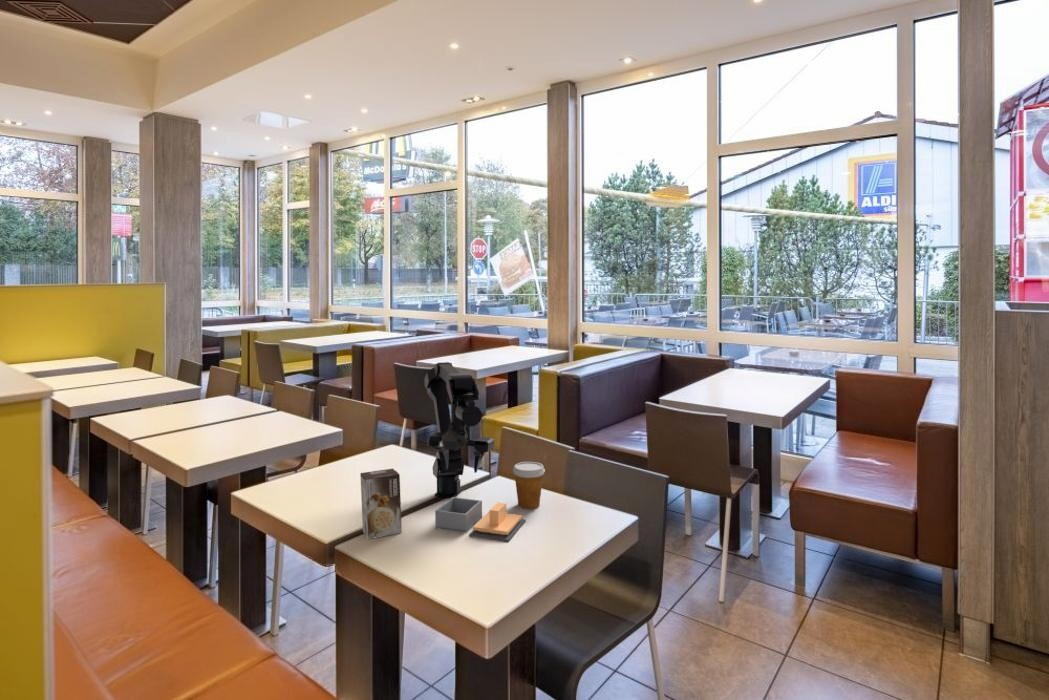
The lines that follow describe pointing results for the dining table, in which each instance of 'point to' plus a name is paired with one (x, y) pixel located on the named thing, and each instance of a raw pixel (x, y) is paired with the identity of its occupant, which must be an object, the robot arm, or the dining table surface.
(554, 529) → the dining table surface
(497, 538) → the mat
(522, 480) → the disposable coffee cup
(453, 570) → the dining table surface
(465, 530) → the tub
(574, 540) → the dining table surface
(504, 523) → the lid
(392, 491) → the coffee box
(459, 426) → the robot arm
